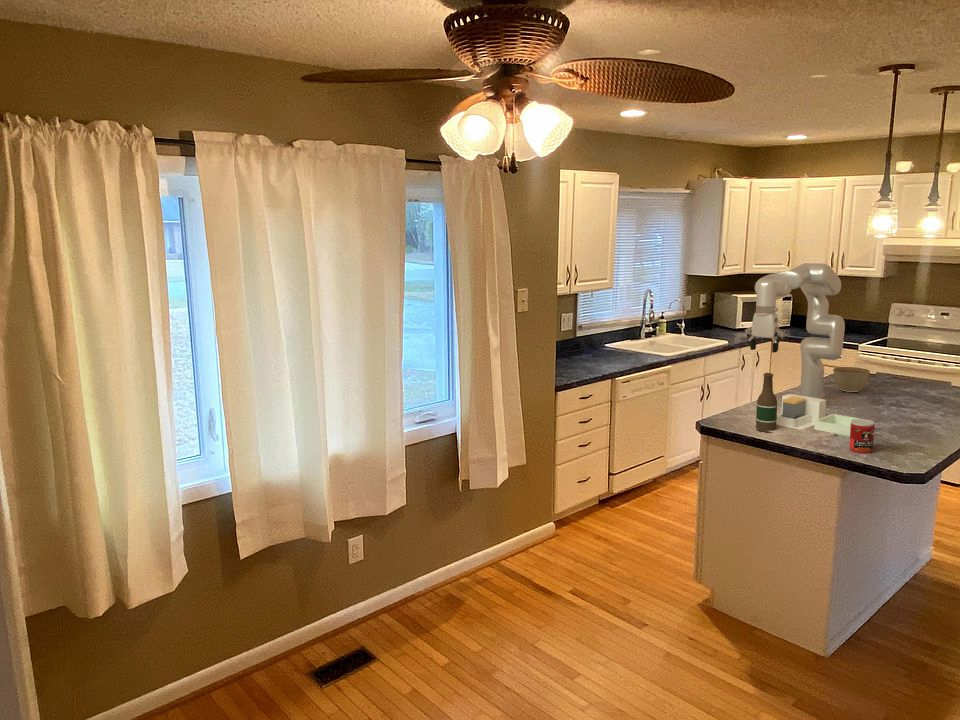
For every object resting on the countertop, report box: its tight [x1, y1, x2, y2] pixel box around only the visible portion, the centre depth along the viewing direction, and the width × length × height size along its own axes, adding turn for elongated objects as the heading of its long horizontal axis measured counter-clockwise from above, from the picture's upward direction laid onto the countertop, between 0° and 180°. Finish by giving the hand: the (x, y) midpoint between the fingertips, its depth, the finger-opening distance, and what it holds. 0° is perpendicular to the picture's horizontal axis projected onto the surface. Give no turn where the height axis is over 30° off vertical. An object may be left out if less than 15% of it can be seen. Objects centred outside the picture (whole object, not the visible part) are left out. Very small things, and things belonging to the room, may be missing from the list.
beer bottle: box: [755, 372, 778, 434], centre depth 280 cm, size 8×8×24 cm
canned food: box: [848, 418, 876, 454], centre depth 252 cm, size 8×8×11 cm
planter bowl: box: [832, 366, 871, 391], centre depth 344 cm, size 16×16×11 cm
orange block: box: [781, 396, 806, 419], centre depth 288 cm, size 9×5×10 cm, turn 129°
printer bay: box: [776, 393, 827, 431], centre depth 290 cm, size 20×16×10 cm
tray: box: [813, 413, 861, 440], centre depth 277 cm, size 16×14×4 cm
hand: (763, 350), depth 288 cm, fingers open, 9 cm apart
